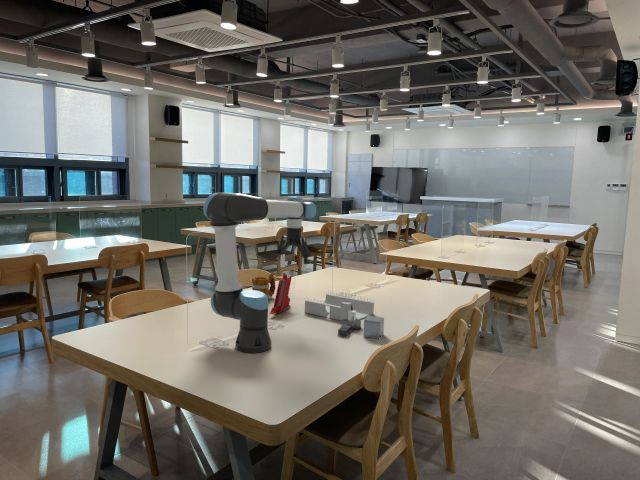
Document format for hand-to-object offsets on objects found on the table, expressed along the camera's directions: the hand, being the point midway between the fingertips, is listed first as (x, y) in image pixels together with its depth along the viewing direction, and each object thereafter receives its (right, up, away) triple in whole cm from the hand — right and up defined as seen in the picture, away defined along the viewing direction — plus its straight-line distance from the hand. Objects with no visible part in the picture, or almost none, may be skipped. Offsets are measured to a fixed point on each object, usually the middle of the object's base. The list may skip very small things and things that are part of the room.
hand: (293, 268), depth 242 cm
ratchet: (+27, -28, -16) cm, 43 cm away
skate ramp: (+23, -25, +11) cm, 36 cm away
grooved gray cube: (+39, -30, -23) cm, 54 cm away
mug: (-20, -21, +40) cm, 49 cm away
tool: (-8, -28, +12) cm, 31 cm away
